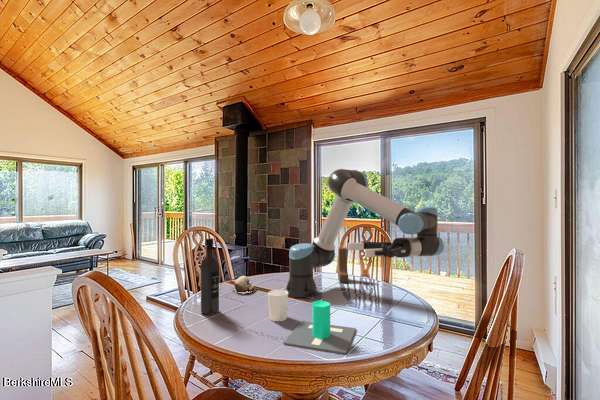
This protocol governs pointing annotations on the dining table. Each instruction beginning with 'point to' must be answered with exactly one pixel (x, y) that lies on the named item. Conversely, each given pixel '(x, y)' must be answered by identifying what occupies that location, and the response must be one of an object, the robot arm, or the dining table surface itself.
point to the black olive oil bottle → (209, 281)
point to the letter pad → (334, 343)
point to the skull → (244, 285)
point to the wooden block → (342, 265)
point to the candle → (321, 319)
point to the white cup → (278, 305)
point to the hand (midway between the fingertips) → (356, 249)
